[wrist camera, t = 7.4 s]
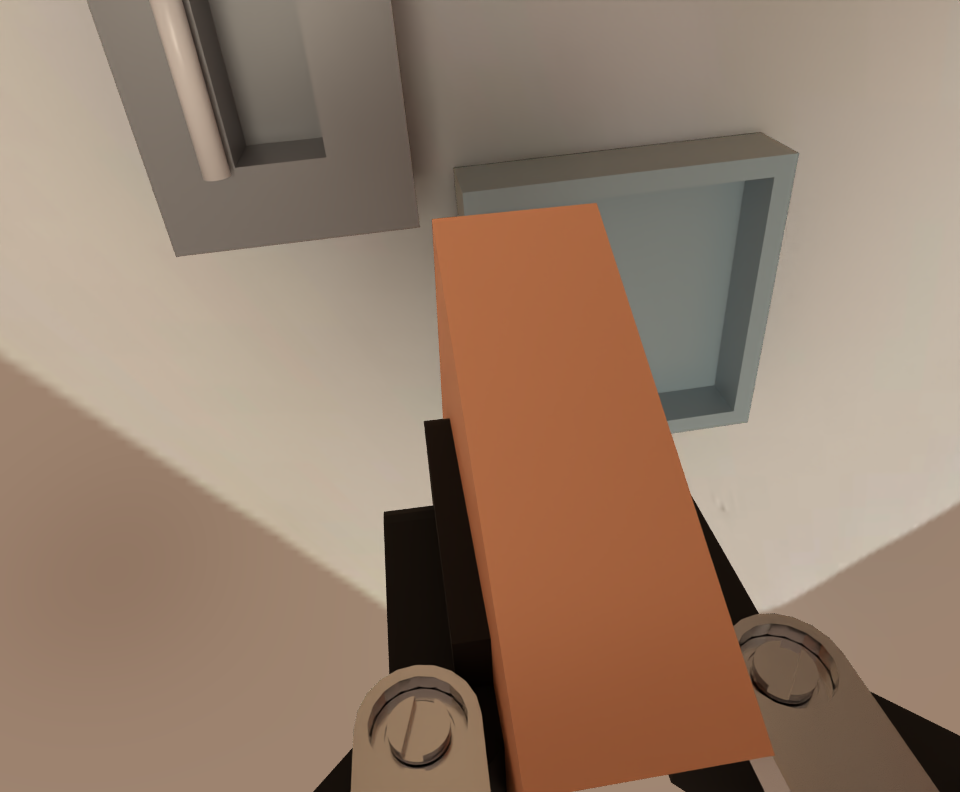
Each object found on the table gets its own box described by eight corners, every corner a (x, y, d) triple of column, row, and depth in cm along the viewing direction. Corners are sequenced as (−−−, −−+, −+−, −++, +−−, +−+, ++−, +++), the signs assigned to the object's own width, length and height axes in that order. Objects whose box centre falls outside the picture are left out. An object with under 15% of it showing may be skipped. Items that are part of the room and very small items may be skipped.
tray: (761, 132, 28) (799, 153, 26) (720, 387, 35) (747, 422, 33) (453, 167, 27) (462, 193, 25) (477, 422, 34) (485, 460, 32)
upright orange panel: (532, 487, 16) (596, 202, 8) (591, 777, 13) (775, 754, 5) (447, 498, 16) (431, 218, 8) (488, 795, 13) (524, 800, 5)
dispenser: (358, -226, 20) (357, -268, 16) (411, 180, 27) (421, 236, 23) (77, -205, 20) (-12, -242, 15) (204, 204, 27) (170, 267, 22)
